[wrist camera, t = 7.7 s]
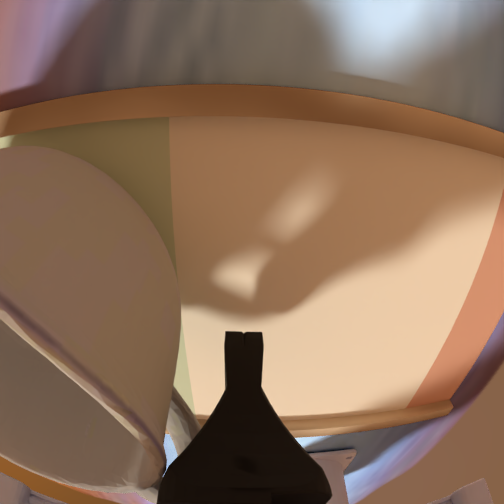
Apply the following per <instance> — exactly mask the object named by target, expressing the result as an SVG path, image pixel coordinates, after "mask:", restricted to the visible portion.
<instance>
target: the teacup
mask: <svg viewBox="0 0 504 504" xmlns="http://www.w3.org/2000/svg"><path fill="white" fill-rule="evenodd" d="M180 333H181V300H180V292H179V286H178V282H177V277H176V273H175V270H174V267H173V264H172V261H171V258H170V256H169V253H168V250H167V248H166V246H165V244H164V242H163V240H162V238H161V236H160V235H159V233H158V231H157V229H156V228H155V226H154V224H153V223H152V222H151V220H150V219H149V217H148V216H147V215H146V213H145V212H144V211H143V209H142V208H141V206H140V205H139V204H138V203H137V202H136V201H135V200H134V199H133V198H132V196H131V195H129V194H128V193H127V192H126V191H125V190H124V189H123V188H122V187H121V186H120V185H119V184H118V183H117V182H115V181H114V180H113V179H112V178H111V177H109V176H108V175H107V174H106V173H104V172H103V171H101V170H100V169H98V168H96V167H95V166H93V165H92V164H90V163H88V162H86V161H84V160H82V159H80V158H78V157H76V156H73V155H70V154H68V153H65V152H63V151H60V150H56V149H52V148H47V147H39V146H15V147H7V148H1V149H0V456H2V457H4V458H5V459H7V460H9V461H10V462H12V463H14V464H16V465H18V466H20V467H22V468H24V469H27V470H29V471H31V472H33V473H36V474H38V475H40V476H43V477H46V478H48V479H51V480H54V481H56V482H59V483H63V484H66V485H70V486H74V487H78V488H82V489H87V490H94V491H101V492H107V493H109V492H113V493H131V492H136V493H137V494H138V495H140V496H141V497H142V498H144V499H146V500H148V501H150V502H153V503H156V504H157V497H158V490H159V487H160V484H161V481H162V479H163V477H162V476H163V474H164V473H165V471H166V463H167V459H166V454H165V450H164V446H163V444H164V437H165V431H166V428H167V430H168V432H169V434H170V436H171V438H172V440H173V442H174V445H175V448H176V451H177V454H178V456H179V455H180V454H181V453H182V452H183V451H184V450H185V448H186V447H187V446H188V445H189V444H190V442H191V441H192V440H193V439H194V437H195V436H196V435H197V434H198V432H199V431H200V430H201V426H200V424H199V422H198V420H197V418H196V417H195V415H194V414H193V412H192V411H191V409H190V408H189V406H188V405H187V403H186V402H185V401H184V399H183V398H182V396H181V395H180V394H179V392H178V391H177V390H176V388H175V387H174V385H173V384H174V379H175V373H176V366H177V359H178V352H179V343H180Z"/></svg>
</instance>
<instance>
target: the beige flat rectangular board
mask: <svg viewBox="0 0 504 504" xmlns="http://www.w3.org/2000/svg"><path fill="white" fill-rule="evenodd" d="M15 146H39V147H47V148H52V149H56V150H60V151H63V152H65V153H68V154H70V155H73V156H76V157H78V158H80V159H82V160H84V161H86V162H88V163H90V164H92V165H93V166H95V167H96V168H98V169H100V170H101V171H103V172H104V173H106V174H107V175H108V176H109V177H111V178H112V179H113V180H114V181H115V182H117V183H118V184H119V185H120V186H121V187H122V188H123V189H124V190H125V191H126V192H127V193H128V194H129V195H131V196H132V198H133V199H134V200H135V201H136V202H137V203H138V204H139V205H140V206H141V208H142V209H143V211H144V212H145V213H146V215H147V216H148V217H149V219H150V220H151V222H152V223H153V224H154V226H155V228H156V229H157V231H158V233H159V235H160V236H161V238H162V240H163V242H164V244H165V246H166V248H167V250H168V253H169V256H170V258H171V261H172V264H173V267H174V270H175V273H176V277H177V282H178V286H179V292H180V300H181V333H180V343H179V352H178V359H177V366H176V373H175V379H174V384H173V385H174V387H175V388H176V390H177V391H178V392H179V394H180V395H181V396H182V398H183V399H184V401H185V402H186V403H187V405H188V406H189V408H190V409H191V411H192V412H193V414H194V415H195V417H196V418H197V420H198V422H199V424H200V426H201V428H202V427H203V426H204V424H205V423H206V421H207V420H208V418H209V417H210V415H211V414H212V412H213V410H214V409H215V407H216V405H217V404H218V402H219V400H220V398H221V397H222V395H223V393H224V391H225V362H224V341H225V331H241V332H243V333H245V332H262V335H263V343H264V352H263V369H262V385H261V387H262V389H263V391H264V393H265V395H266V396H267V398H268V400H269V402H270V404H271V405H272V407H273V409H274V410H275V412H276V413H277V415H278V416H279V418H280V419H281V421H282V422H283V424H284V425H285V426H286V428H287V429H288V430H289V432H290V433H291V434H292V436H293V437H294V438H297V437H313V436H326V435H336V434H346V433H354V432H362V431H369V430H376V429H382V428H388V427H394V426H399V425H405V424H410V423H415V422H419V421H424V420H428V419H433V418H437V417H441V416H445V415H448V414H449V412H450V411H451V410H452V409H453V405H452V403H451V401H450V398H451V397H452V395H453V394H454V393H455V391H456V390H457V388H458V387H459V385H460V384H461V383H462V381H463V380H464V378H465V377H466V375H467V374H468V372H469V371H470V369H471V367H472V366H473V364H474V363H475V361H476V360H477V358H478V356H479V355H480V353H481V351H482V350H483V348H484V346H485V345H486V343H487V341H488V339H489V338H490V336H491V334H492V332H493V330H494V329H495V327H496V325H497V323H498V321H499V319H500V317H501V315H502V313H503V311H504V133H502V132H500V131H497V130H494V129H491V128H488V127H485V126H482V125H479V124H476V123H473V122H470V121H466V120H463V119H460V118H456V117H453V116H449V115H446V114H442V113H438V112H435V111H431V110H427V109H423V108H418V107H414V106H410V105H405V104H401V103H396V102H391V101H386V100H381V99H376V98H370V97H364V96H358V95H352V94H345V93H338V92H331V91H323V90H314V89H304V88H294V87H281V86H265V85H242V84H189V85H166V86H151V87H138V88H128V89H118V90H110V91H102V92H95V93H88V94H82V95H76V96H70V97H64V98H59V99H54V100H49V101H44V102H39V103H35V104H30V105H26V106H22V107H18V108H14V109H10V110H6V111H3V112H0V149H1V148H7V147H15ZM165 434H169V432H168V430H167V428H166V431H165Z"/></svg>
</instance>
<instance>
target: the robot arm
mask: <svg viewBox="0 0 504 504" xmlns="http://www.w3.org/2000/svg"><path fill="white" fill-rule="evenodd" d="M263 352H264V343H263V335H262V332H245V333H243V332H241V331H225V341H224V362H225V391H224V393H223V395H222V397H221V398H220V400H219V402H218V404H217V405H216V407H215V409H214V410H213V412H212V414H211V415H210V417H209V418H208V420H207V421H206V423H205V424H204V426H203V427H202V428H201V430H200V431H199V432H198V434H197V435H196V436H195V437H194V439H193V440H192V441H191V442H190V444H189V445H188V446H187V447H186V448H185V450H184V451H183V452H182V453H181V454H180V455H179V456H178V457H177V458H176V459H175V460H174V461H173V462H172V463H171V464H170V465H169V467H168V469H167V471H166V473H165V475H164V477H163V479H162V481H161V484H160V487H159V490H158V497H157V504H349V503H348V497H347V491H346V486H345V480H344V475H343V472H344V470H345V469H346V468H347V466H348V465H349V464H350V462H351V461H352V460H353V458H354V457H355V456H356V454H357V452H356V450H355V449H349V450H340V451H331V452H321V453H309V454H308V453H307V452H306V451H305V450H304V449H303V448H302V446H301V445H300V444H299V443H298V442H297V441H296V439H295V438H294V437H293V436H292V434H291V433H290V432H289V430H288V429H287V428H286V426H285V425H284V424H283V422H282V421H281V419H280V418H279V416H278V415H277V413H276V412H275V410H274V409H273V407H272V405H271V404H270V402H269V400H268V398H267V396H266V395H265V393H264V391H263V389H262V387H261V385H262V369H263ZM0 504H67V503H65V502H62V501H59V500H56V499H53V498H51V497H48V496H45V495H43V494H40V493H38V492H35V491H32V490H31V489H30V488H29V487H28V486H26V485H25V484H23V483H22V482H20V481H18V480H16V479H14V478H12V477H10V476H7V475H5V474H3V473H1V472H0ZM428 504H493V501H492V498H491V496H490V492H489V490H488V487H487V484H486V481H485V479H484V478H482V479H480V480H477V481H475V482H473V483H471V484H468V485H466V486H463V487H461V488H460V489H458V490H456V491H455V492H453V493H452V494H451V495H450V496H447V497H445V498H442V499H439V500H436V501H433V502H431V503H428Z"/></svg>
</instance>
